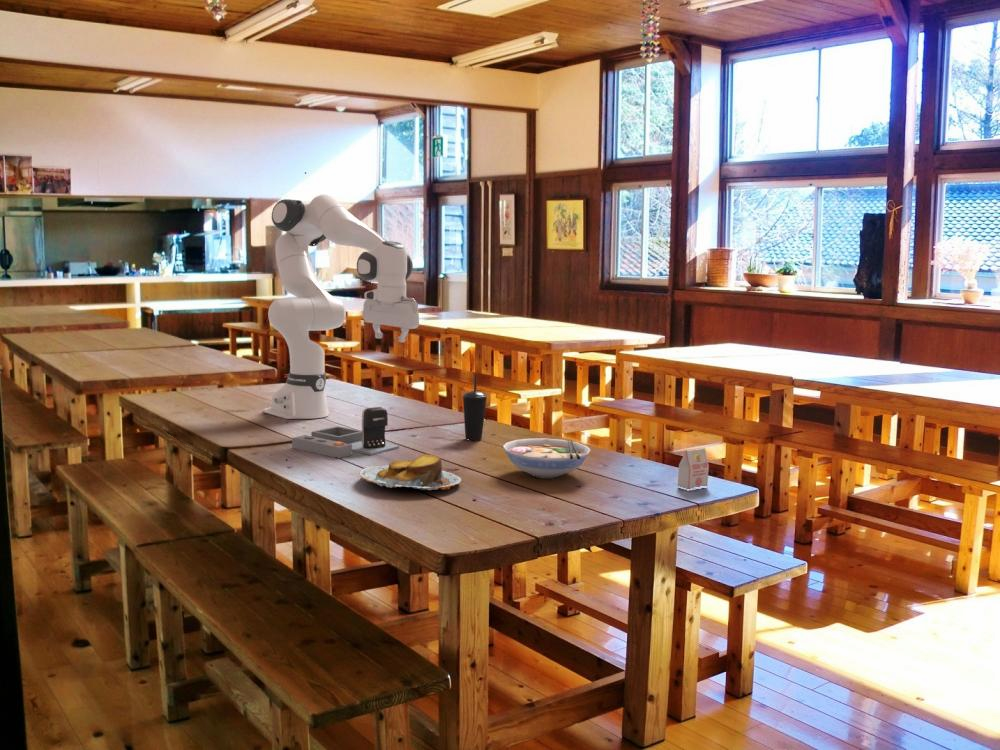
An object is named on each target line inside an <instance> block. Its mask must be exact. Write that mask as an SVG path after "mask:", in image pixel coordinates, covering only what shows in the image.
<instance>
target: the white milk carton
mask: <svg viewBox="0 0 1000 750" xmlns="http://www.w3.org/2000/svg"><path fill="white" fill-rule="evenodd" d="M708 461H709V460H708V456H707V452H706V448H698V449H695V448H694V449H689V450H684V453H683V455H682V458H681V459H680V462H679V464H678V475H677V487H678V486H680V487H683V488H686V489H691V488H694V487H700V486H707V487H708V483H709V481H708V480H709V469H710V466H709V462H708Z"/></svg>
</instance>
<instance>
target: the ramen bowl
mask: <svg viewBox="0 0 1000 750" xmlns="http://www.w3.org/2000/svg"><path fill="white" fill-rule="evenodd" d="M502 448H503V450H504V452H505V454H506V455H507V458H509V460H510V461H511V463H512V464H513V465H514V467H516V468H518V469H519V470H520V471H522V472H525V473H527V474H530V475H531V476H532V475H534V476H533V477H535V476H537V477H536V478H538V477H543V478H542V479H554V478H553V477H556V478H559V477H561V476H563V475H566V474H569V473H573V472H575V471H576V470H578V468H580V467H581V466H582V464H583V462H584V461H585V460H587V457H588V456H589V454H590V452H591V448H590V447H589V446H587V445H586V444H585V445H584V444H582V443H580V442H577V441H572V438H571V437H569V438H567V440H565V439H557V438H556V439H555V438H546V437H545V438H544V437H543V438H537V437H536V438H522V439H515V440H511V441H507V442H506V443H505V444H503V445H502ZM558 476H559V477H558Z"/></svg>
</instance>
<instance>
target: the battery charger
mask: <svg viewBox="0 0 1000 750" xmlns="http://www.w3.org/2000/svg"><path fill="white" fill-rule="evenodd" d="M388 417H389V415H388V411H387V409H386V408H384V407H383V406H371V407H366V408H364V409H363V410H362V414H361V431H362V440H361V441H362V447H365V448H378V447H384V446H385V444H386V437H385V435H386V426H388V424H389V423H388V421H389V419H388Z"/></svg>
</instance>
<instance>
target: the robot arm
mask: <svg viewBox="0 0 1000 750" xmlns="http://www.w3.org/2000/svg"><path fill="white" fill-rule="evenodd" d="M271 221H272V224H273V225H274V226H275V227H276V228H277V229H279V230H280V231H282V232H285V233H283V234H282V235H280V236H279V237H278V238H277V239H276V241H275V245H274V246H275V247H274V248H275V250H274V251H275V259H276V265H277V268H278V273H279V277H280V281H281V286H282V288H284V290H285V291H286V292H287V293H288V294H290V295H292V296H291V297H283V298H279V299H275V300H273V301H272V302H271V304H270V305H269V308H268V311H267V315H268V316H267V317H268V321H269V323H270V325H271V326H272V328H274V329H275V330H276V331H277V332H279V333H280V334H281V335H282V337H283V339H284V340H285V342H286V344H287V347H288V353H289V366H290V368H289V372H288V373H286V374H284V377H283V378H286V381H285V384H283V385H282V386H280V388H279V389H278V390H276V391H275V392H274V393H273V394H272V396H271V400H270V406H269V407H266V408H263V413H265V414H267V415H268V414H269V415H272V416H275V417H279V418H282V419H285V420H289V419H290V420H294V419H303V420H304V419H307V420H309V419H320V418H321V419H322V418H325V417H328V416H329V415H330V412H329V411H330V410H329V408H328V401H327V392H326V388H325V387H326V384H327V383H326V382H327V380H326V379H327V376H326V372H325V355H326V354H325V350H324V348H323V347H322V346H321V345H320V344H319V343H317V342H316V341H313V340H312V339H310V336H309V332H310V331H314V332H315V331H317V332H318V331H330V330H334V329H337V328H340V327H341V326H342V325H343V324H344V322H345V320H346V317H347V316H346V315H347V312H346V307H345V305H344V304H343V302H342V301H341V300H340V299H339V298H337V297H335V296H333V295H332V294H330V292H328V291H327V290H326V289H325V288H324V287H323V286H322V284H321V283H320V282H319V280H318V278H317V276H316V273H315V270H314V266H313V264H312V260H311V256H310V253H309V247H317V246H318V245H319V243H322V242H324V241H325V240H326V239H327V240H329V241H330V242H331V243H334V244H336V245H338V246H339V245H340V246H346V247H354V248H361V249H364V250H366V251H363V252H362V253H361V254H360V255H359V256H358V257H357V261H356V271H357V272H356V273H357V275H358V276H359V277H360V279H362V280H363V281H364V282H369V283H374V282H375V283H376V282H377V286H376V287H377V288H375V289H372V290H368V291H365V292H364V299H366V300H364V303H363V306H362V307H363V309H362V317H363V320H364V323H369V324H372V329H373V331H374V334H375V336H374V337H375V338H374V339H382V338H383V335H384V333H383V332H382V331H381V328H380V327H381V325H383V326H388V327H395V328H400V331H401V333H400V335H399V336H397V341H398V342H399V343H405V342H406V340H407V339H406V338H407V335H408V334H409V331H410V330H414V329H418V327H419V326H420V315H419V304H418V302H417V300H415V298H413V297H407V280H408V279H409V278H410V277H411V274H412V272H413V269H414V268H413V267H414V266H413V261H412V258H411V256H410V255H409V253H408V252H407V248H406V246H405V245H404V244H403V243H401V242H398V241H393V240H387V239H386V238H385V237H383V235H381V234H380V233H379V232H377V231H376V230H374V229H373V228H371V227H370V226H368V225H367V224H365V223H364V222H363V221H361V220H360V219H358V218H357V217H356V216H354V215H353V214H352V213H351V212H350V211H348V209H347V208H346V207H345V206H343V204H341V202H339V201H338V200H336V199H335V198H333V197H332V196H330V195H328V194H319V195H317V196H315V197H313V199H312V200H311V201H310V203H304V202H302V200H297V199H280V200H279V201H278V202H277V203H276V204H275V205H274V207H273V209H272V212H271ZM293 296H295V297H293Z"/></svg>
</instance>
